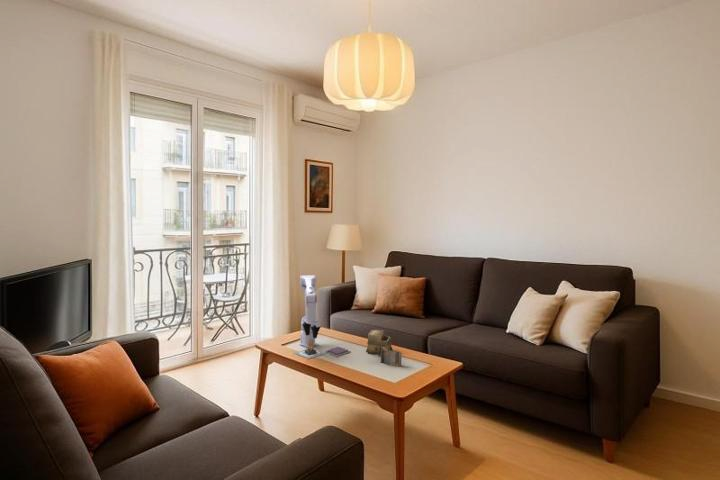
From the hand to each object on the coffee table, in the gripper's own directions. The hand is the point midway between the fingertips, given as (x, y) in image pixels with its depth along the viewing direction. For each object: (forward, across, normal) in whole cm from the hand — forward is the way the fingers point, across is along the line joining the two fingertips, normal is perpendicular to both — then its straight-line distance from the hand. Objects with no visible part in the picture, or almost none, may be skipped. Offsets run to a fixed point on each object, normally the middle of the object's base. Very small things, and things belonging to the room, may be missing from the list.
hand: (311, 336), depth 249 cm
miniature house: (+10, -25, -31) cm, 41 cm away
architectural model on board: (+10, -44, -22) cm, 50 cm away
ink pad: (+10, -9, -12) cm, 18 cm away
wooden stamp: (+10, 0, +1) cm, 10 cm away
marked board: (+10, 0, +1) cm, 10 cm away
